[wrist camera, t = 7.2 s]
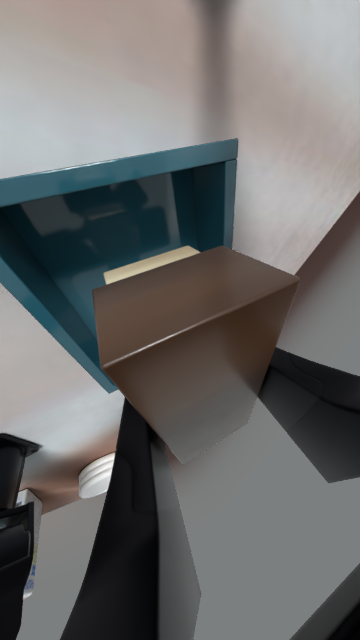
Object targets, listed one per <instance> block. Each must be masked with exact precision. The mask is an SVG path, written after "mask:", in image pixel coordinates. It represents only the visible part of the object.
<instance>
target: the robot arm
mask: <svg viewBox="0 0 360 640" xmlns="http://www.w3.org/2000/svg"><path fill="white" fill-rule="evenodd" d="M257 397H258V398H259V399H260V400H261V402H262V403H263V404H264V405H265V406H266V408H267V409H268V410H269V411H270V413H271V414H272V415H273V416H274V417H275V419H276V420H277V421H278V422H279V424H280V425H281V426H282V427H283V428H284V429H285V431H286V432H287V433H288V435H289V436H290V437H291V438H292V440H293V441H294V442H295V443H296V444H297V446H298V447H299V448H300V449H301V451H302V452H303V453H304V454H305V455H306V457H307V458H308V459H309V460H310V461H311V463H312V464H313V465H314V466H315V467H316V469H317V470H318V471H319V473H320V474H321V475H322V476H323V477H324V478H325V480H326V481H327V482H328V483H332V482H337V481H342V480H348V479H353V478H358V477H360V376H357V375H353V374H350V373H347V372H344V371H341V370H338V369H335V368H331V367H328V366H325V365H322V364H319V363H316V362H313V361H310V360H307V359H304V358H302V357H299V356H297V355H294V354H292V353H289V352H286V351H284V350H281V349H279V348H276V347H275V350H274V352H273V355H272V358H271V361H270V363H269V366H268V369H267V371H266V374H265V377H264V379H263V382H262V385H261V388H260V390H259V393H258V396H257ZM116 449H117V450H116V451H115V457H114V463H113V468H112V473H111V478H110V482H109V487H108V491H107V495H106V499H105V503H104V507H103V511H102V514H101V518H100V522H99V526H98V530H97V534H96V537H95V541H94V545H93V549H92V553H91V556H90V560H89V564H88V568H87V571H86V574H85V577H84V580H83V583H82V586H81V589H80V592H79V595H78V597H77V600H76V602H75V605H74V607H73V610H72V612H71V615H70V617H69V619H68V622H67V624H66V627H65V629H64V631H63V634H62V636H61V639H60V640H193V637H194V631H195V625H196V620H197V614H198V609H199V603H200V597H201V591H200V587H199V583H198V579H197V575H196V570H195V566H194V562H193V558H192V554H191V550H190V546H189V542H188V538H187V534H186V530H185V526H184V522H183V517H182V513H181V510H180V505H179V501H178V497H177V493H176V489H175V485H174V481H173V477H172V473H171V469H170V465H169V461H168V456H167V453H166V448H165V444H164V442H163V441H162V439H161V438H160V437H159V436H158V435H157V434H156V432H155V431H154V430H153V429H152V428H151V427H150V425H149V424H148V423H147V422H146V421H145V420H144V418H143V417H142V416H141V415H140V414H139V413H138V411H137V410H136V409H135V408H134V407H133V405H132V404H131V403H130V402H129V401H128V400H127V398H126V397H125V400H124V405H123V411H122V417H121V423H120V429H119V434H118V440H117V446H116ZM38 450H39V446H38V445H35V444H32V443H29V442H26V441H23V440H20V439H16V438H13V437H10V436H7V435H4V434H0V640H16V637H17V634H18V632H19V629H20V626H21V617H22V605H23V595H24V588H25V586H26V583H27V580H28V577H29V574H30V570H31V566H32V561H33V555H34V501H32V502H28V503H27V504H25V505H21V506H17V507H16V503H17V498H18V493H19V488H20V483H21V478H22V473H23V468H24V463H25V458H26V457H27V456H29V455H31V454H33V453H35V452H37V451H38ZM290 640H360V564H359V565H358V566H357V567H356V568H355V569H354V570H353V571H352V572H351V573H350V574H349V575H348V577H347V578H346V579H345V580H344V581H343V582H342V583H341V584H340V585H339V587H337V589H336V590H335V591H334V592H333V593H332V594H331V595H330V596H329V597H328V598H327V599H326V601H325V602H324V603H323V604H322V605H321V606H320V607H319V608H318V609H317V610H316V612H315V613H314V614H313V615H312V616H311V617H310V618H309V619H308V620H307V621H306V622H305V623H304V625H303V626H302V627H301V628H300V629H299V630H298V631H297V632H296V633H295V634H294V635H293V637H292V638H291V639H290Z"/></svg>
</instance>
